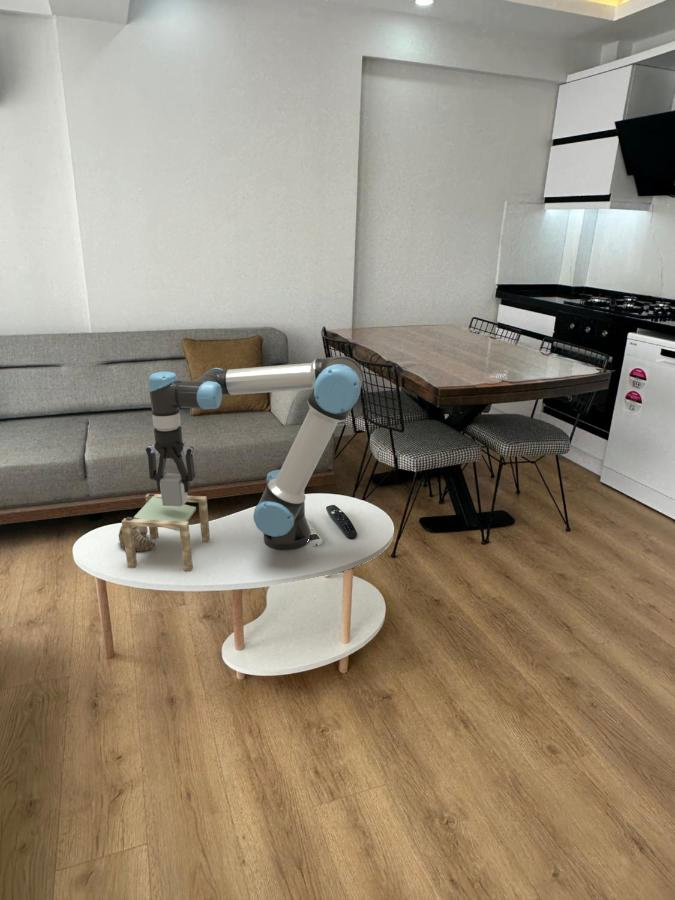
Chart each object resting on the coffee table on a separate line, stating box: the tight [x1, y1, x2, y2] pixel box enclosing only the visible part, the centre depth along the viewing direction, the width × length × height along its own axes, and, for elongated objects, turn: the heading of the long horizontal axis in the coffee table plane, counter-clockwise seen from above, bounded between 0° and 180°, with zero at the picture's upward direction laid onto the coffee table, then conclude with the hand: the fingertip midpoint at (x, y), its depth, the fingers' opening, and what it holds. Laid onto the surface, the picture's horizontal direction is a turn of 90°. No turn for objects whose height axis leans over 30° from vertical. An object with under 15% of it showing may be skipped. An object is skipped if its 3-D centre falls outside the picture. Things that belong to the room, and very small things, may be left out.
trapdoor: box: [133, 497, 197, 532], centre depth 181 cm, size 14×14×4 cm
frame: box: [121, 492, 211, 572], centre depth 183 cm, size 19×19×16 cm
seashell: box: [118, 525, 157, 552], centre depth 190 cm, size 14×10×10 cm
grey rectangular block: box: [160, 472, 183, 506], centre depth 178 cm, size 6×6×8 cm
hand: (175, 500), depth 179 cm, fingers closed on grey rectangular block, 5 cm apart
